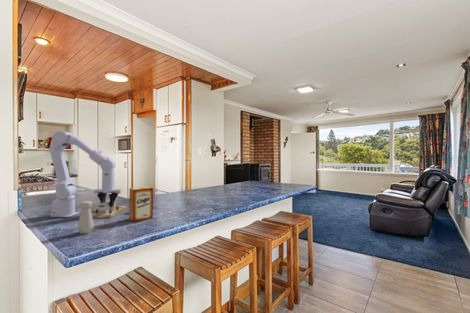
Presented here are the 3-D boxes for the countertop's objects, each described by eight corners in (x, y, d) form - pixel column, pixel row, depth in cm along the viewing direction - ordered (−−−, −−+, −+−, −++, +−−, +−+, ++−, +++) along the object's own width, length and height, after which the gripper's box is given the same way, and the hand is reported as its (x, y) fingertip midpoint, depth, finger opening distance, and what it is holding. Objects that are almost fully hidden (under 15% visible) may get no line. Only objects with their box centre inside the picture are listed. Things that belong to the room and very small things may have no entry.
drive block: (97, 212, 117) (97, 203, 117) (108, 208, 126) (108, 199, 126) (105, 213, 117) (105, 203, 117) (115, 208, 126) (115, 199, 126)
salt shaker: (82, 230, 96) (83, 199, 96) (96, 229, 96) (97, 199, 96) (74, 234, 90) (74, 202, 90) (89, 234, 91) (89, 202, 90)
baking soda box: (133, 221, 109) (133, 189, 108) (129, 218, 113) (129, 187, 113) (152, 218, 115) (153, 187, 115) (148, 215, 120) (148, 185, 119)
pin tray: (85, 217, 114) (85, 211, 114) (105, 209, 131) (105, 204, 131) (110, 218, 114) (110, 212, 114) (127, 209, 131) (127, 204, 131)
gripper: (90, 182, 118) (89, 207, 119) (117, 182, 118) (116, 208, 118) (98, 180, 125) (98, 204, 126) (123, 181, 125) (123, 205, 125)
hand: (107, 206), depth 122 cm, fingers closed on drive block, 4 cm apart
